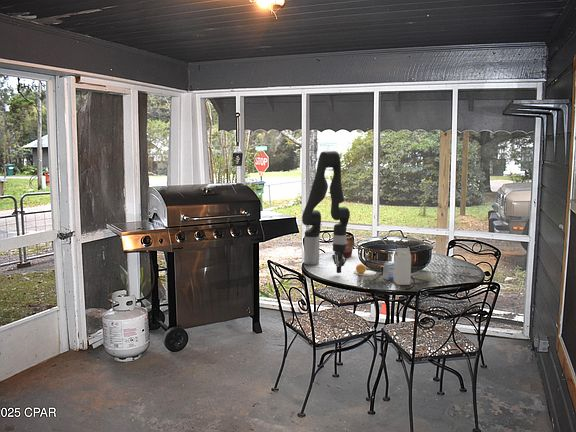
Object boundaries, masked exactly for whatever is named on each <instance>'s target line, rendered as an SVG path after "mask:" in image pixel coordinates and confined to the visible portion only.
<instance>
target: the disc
mask: <svg viewBox="0 0 576 432" xmlns="http://www.w3.org/2000/svg"><path fill="white" fill-rule="evenodd" d="M353 274H354V275H358V276H362V277H365V276H366V277H371V276H376V275H377V272H376V271H374V270H367V269H366V271H365V272H364V273H363V274H359V273H358V272H357V271H356V270H354V271H353ZM375 274H376V275H375Z"/></svg>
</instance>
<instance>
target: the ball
mask: <svg viewBox="0 0 576 432" xmlns="http://www.w3.org/2000/svg"><path fill="white" fill-rule="evenodd" d="M366 270H367V267H366V265H364V264H363V263H358V264H357V265H356V267H355V271H357V272H358V273H359V274H363V273H364V272H365V271H366Z"/></svg>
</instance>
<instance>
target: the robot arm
mask: <svg viewBox="0 0 576 432" xmlns="http://www.w3.org/2000/svg"><path fill="white" fill-rule="evenodd" d="M341 164H342V163H341V157H340V154H339V152H338V151H336V150H325V151H322V152H320V154H319V156H318V161H317V165H316V170H315V174H314V178H313V179H314V180H313V182H312V185H311V189H310V191H309V192H310V193H309V196H308V198H307V199H308V200H307V202H306V205H305V207H304V209H303V212H302V217H301V222H302V224H303V225H304V226H311V227H310V228H309V229H307V230H305V232H304V244H303V245H304V247H303V248H304V249H303V250H304V251H303V264H304V265H309V266H315V265H319V263H320V236H321V235H320V233H321V225H322V214H321V212H320V210H318V209H315V208H316V207H317V206H318V205H319V204H320V203H321V202H322V201H323V200H324V199H325V197H326V195H327V192H328V189H329V193H330V194H329V195H330V199H331V204H330V216H331V218H332V219H333V220H334V221H339V222H338V223H335V224H334V225H333V236H332V251H333V252H334V253H333V254H332V255H331V257H332V260H333V264H334V265H335V266H336V273H337V274H341V273H342V267H344V266H345V264H346V262H347V257H344V252H345V251H346V235H347V228H348V227H347V226H348V223H349V220H350V217H351V211H350V210H349V208H348V207H347V206H342V207H341V206H340V204H342V203H344V202H345V197H344V191H343V187H342V165H341ZM327 168H331V169H332V171H333V176H332V180H331V182H330V185H328V182H327V179H326V177H325V176H326V175H325V174H326V169H327Z"/></svg>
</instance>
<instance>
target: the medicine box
mask: <svg viewBox="0 0 576 432" xmlns="http://www.w3.org/2000/svg"><path fill="white" fill-rule="evenodd" d="M382 267H383V269H382V279H383V280H386V281H393V274H394V262H385V263H383V266H382Z"/></svg>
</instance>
